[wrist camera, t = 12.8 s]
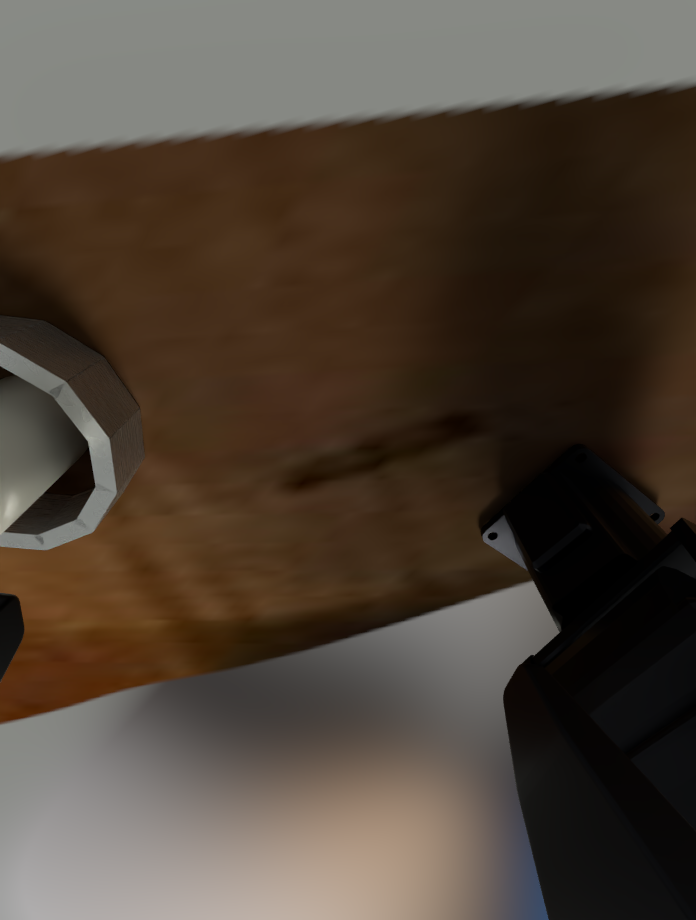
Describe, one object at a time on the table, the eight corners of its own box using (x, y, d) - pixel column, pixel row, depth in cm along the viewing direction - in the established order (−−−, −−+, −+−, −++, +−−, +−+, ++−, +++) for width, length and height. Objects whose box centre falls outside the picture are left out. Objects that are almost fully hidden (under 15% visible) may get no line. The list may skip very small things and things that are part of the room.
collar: (178, 402, 20) (153, 432, 17) (95, 537, 23) (63, 580, 21) (-45, 265, 17) (-115, 276, 15) (-102, 441, 21) (-166, 476, 18)
